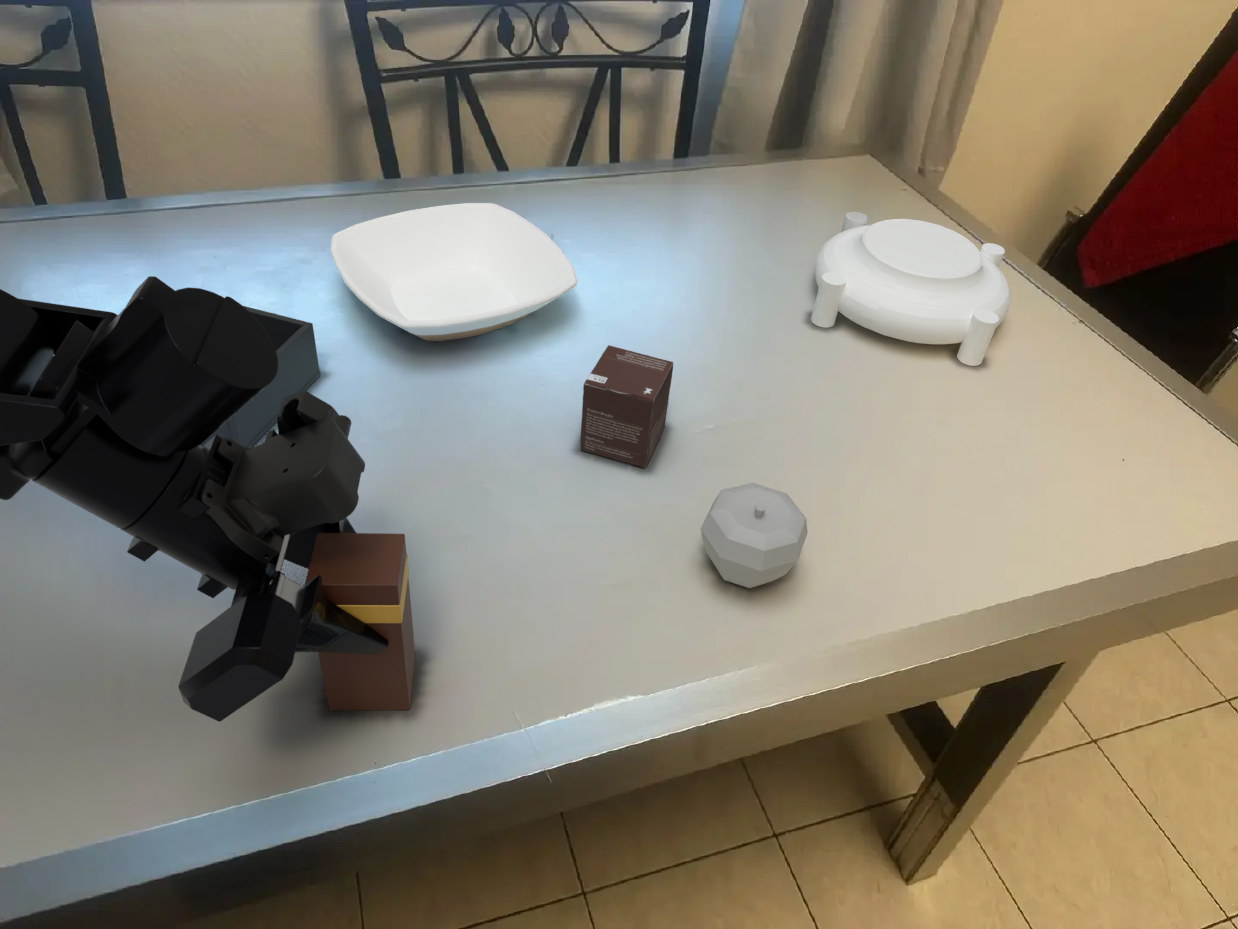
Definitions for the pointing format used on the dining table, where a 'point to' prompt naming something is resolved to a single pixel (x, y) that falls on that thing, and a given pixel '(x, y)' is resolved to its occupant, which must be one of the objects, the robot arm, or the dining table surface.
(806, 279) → the dining table surface
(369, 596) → the chocolate carton
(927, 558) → the dining table surface
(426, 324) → the bowl
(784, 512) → the apple
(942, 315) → the round stand with pegs
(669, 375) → the box
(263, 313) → the open storage bin
